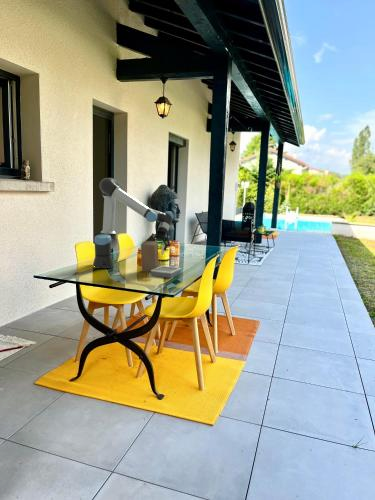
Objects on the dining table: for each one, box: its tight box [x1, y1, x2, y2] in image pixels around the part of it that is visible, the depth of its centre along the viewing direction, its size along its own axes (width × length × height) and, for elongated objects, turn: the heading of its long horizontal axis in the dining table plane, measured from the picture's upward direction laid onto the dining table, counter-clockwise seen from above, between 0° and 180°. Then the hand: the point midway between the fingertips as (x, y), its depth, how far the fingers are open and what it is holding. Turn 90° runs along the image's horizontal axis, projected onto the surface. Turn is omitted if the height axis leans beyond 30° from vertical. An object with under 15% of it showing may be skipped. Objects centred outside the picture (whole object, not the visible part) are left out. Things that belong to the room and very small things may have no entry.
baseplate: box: [150, 265, 182, 279], centre depth 257 cm, size 15×15×4 cm
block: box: [140, 240, 160, 273], centre depth 264 cm, size 10×10×20 cm
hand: (153, 253), depth 267 cm, fingers open, 13 cm apart
